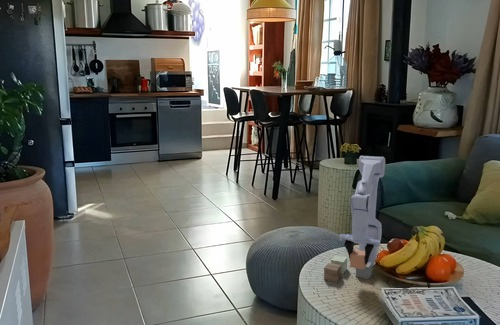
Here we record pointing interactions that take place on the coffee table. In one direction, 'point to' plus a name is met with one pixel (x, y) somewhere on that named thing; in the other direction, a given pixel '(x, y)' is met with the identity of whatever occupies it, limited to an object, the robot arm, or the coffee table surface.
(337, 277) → the walnut block
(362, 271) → the slate block
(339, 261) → the sage block
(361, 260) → the terracotta block
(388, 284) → the coffee table surface
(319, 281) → the coffee table surface
